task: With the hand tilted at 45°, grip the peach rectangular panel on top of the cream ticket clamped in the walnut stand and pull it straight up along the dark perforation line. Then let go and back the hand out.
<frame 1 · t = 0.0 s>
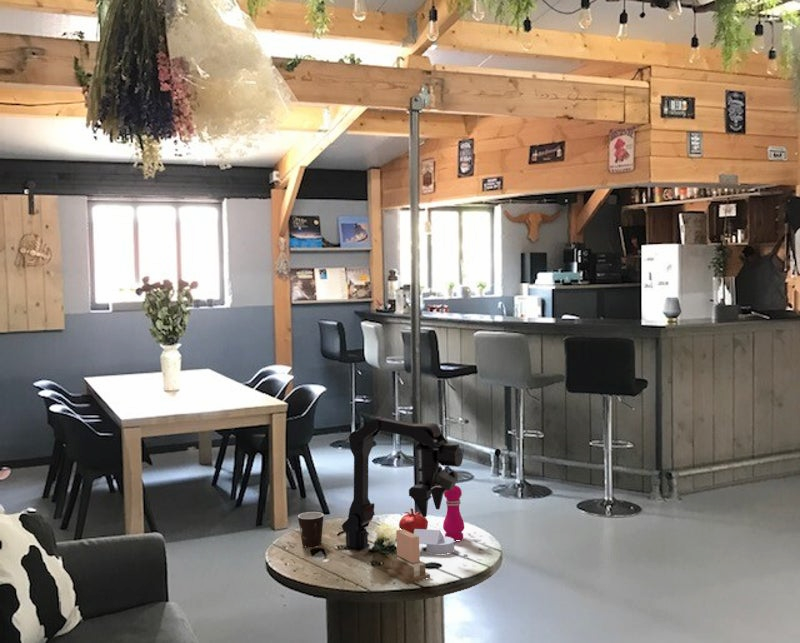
hand: (431, 513, 259), 15 cm above the table, tool pointing down, fingers open, 9 cm apart
peach rectangular panel: (407, 545, 244), point 9 cm above the table, slide at 0.0 cm
wedge on round base: (434, 550, 268), on the table
coffee mug: (310, 546, 276), on the table
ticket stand: (408, 575, 245), on the table
pepper mill: (454, 539, 279), on the table
pomegranate: (413, 535, 285), on the table
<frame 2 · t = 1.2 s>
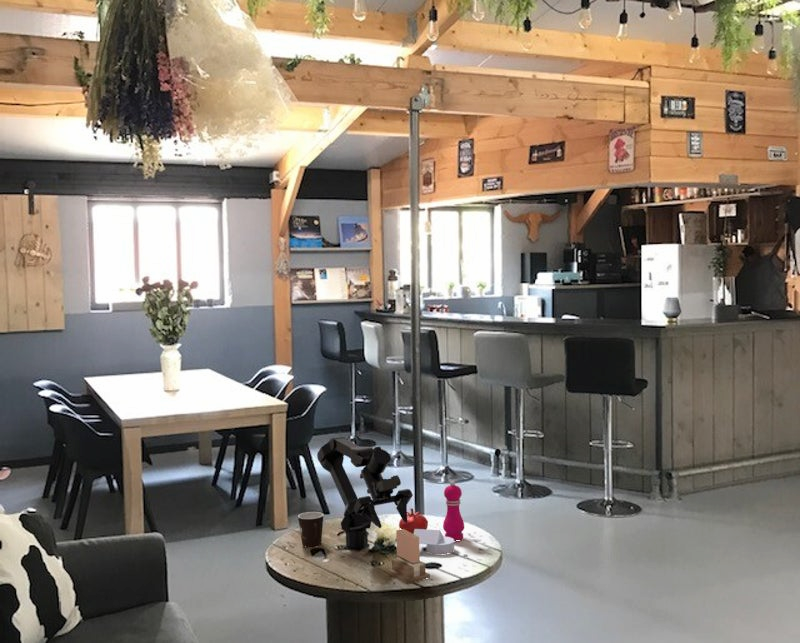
hand: (393, 524, 251), 14 cm above the table, tool tilted 45°, fingers open, 9 cm apart
nothing on the table moved.
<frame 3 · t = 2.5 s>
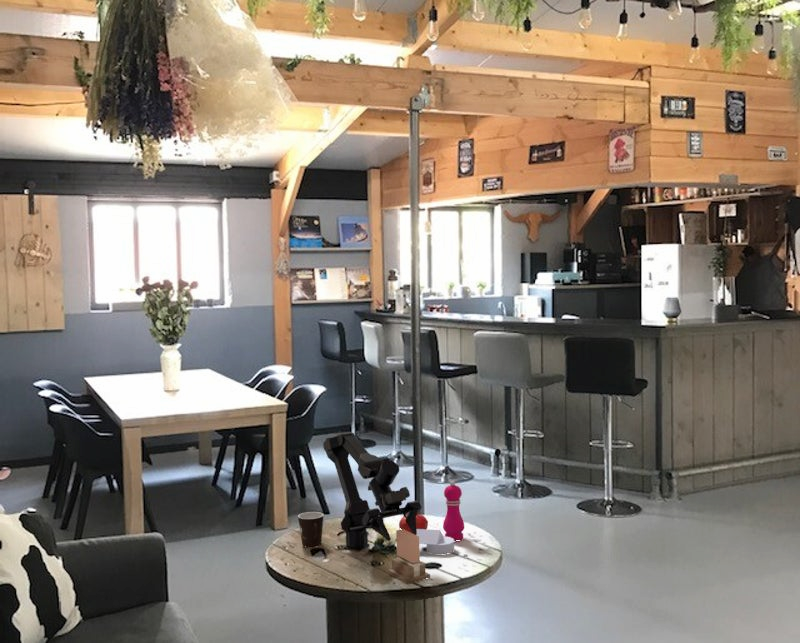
hand: (402, 537, 246), 11 cm above the table, tool tilted 45°, fingers open, 9 cm apart
nothing on the table moved.
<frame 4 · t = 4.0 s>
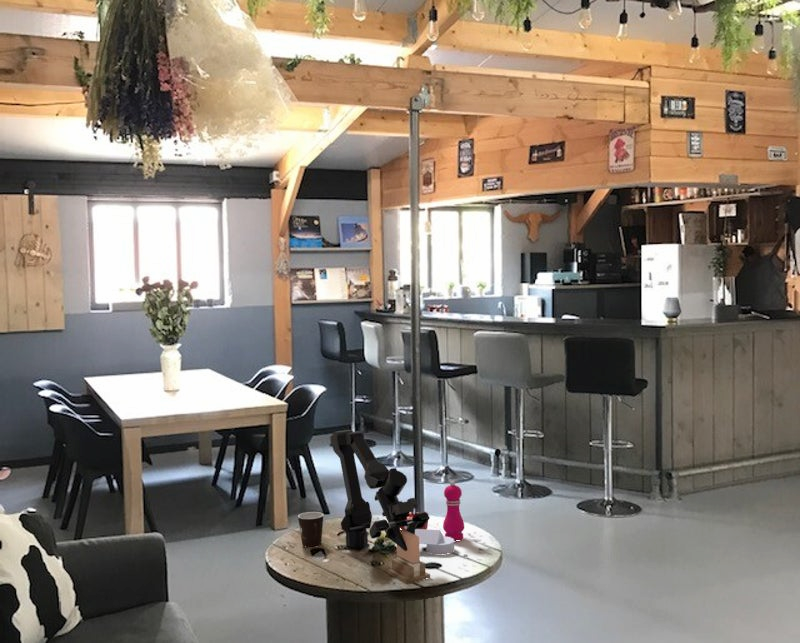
hand: (410, 549, 243), 8 cm above the table, tool tilted 45°, fingers closed on peach rectangular panel, 3 cm apart
peach rectangular panel: (407, 546, 244), point 9 cm above the table, slide at 0.0 cm, touching gripper
everything else where it was.
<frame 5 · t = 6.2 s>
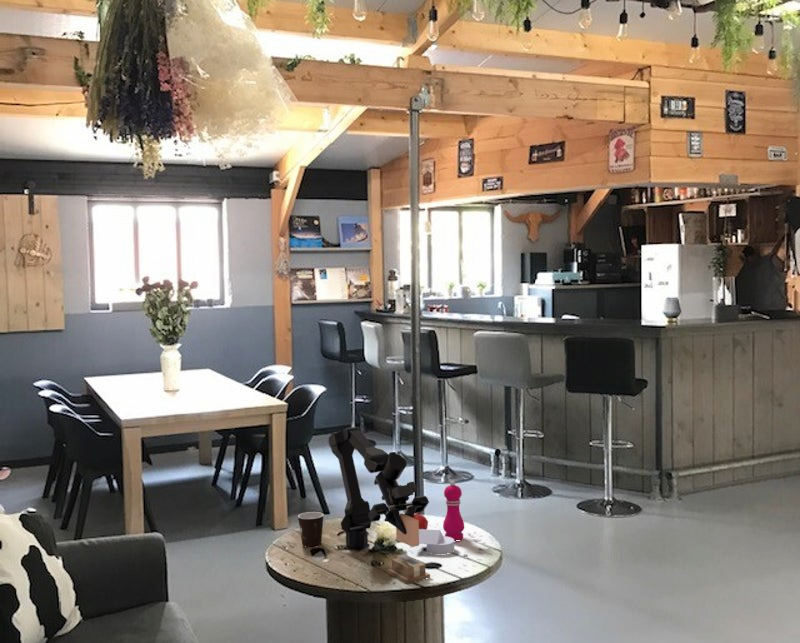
hand: (409, 532, 243), 13 cm above the table, tool tilted 45°, fingers closed on peach rectangular panel, 2 cm apart
peach rectangular panel: (407, 529, 244), point 14 cm above the table, slide at 4.9 cm, touching gripper
everything else where it was.
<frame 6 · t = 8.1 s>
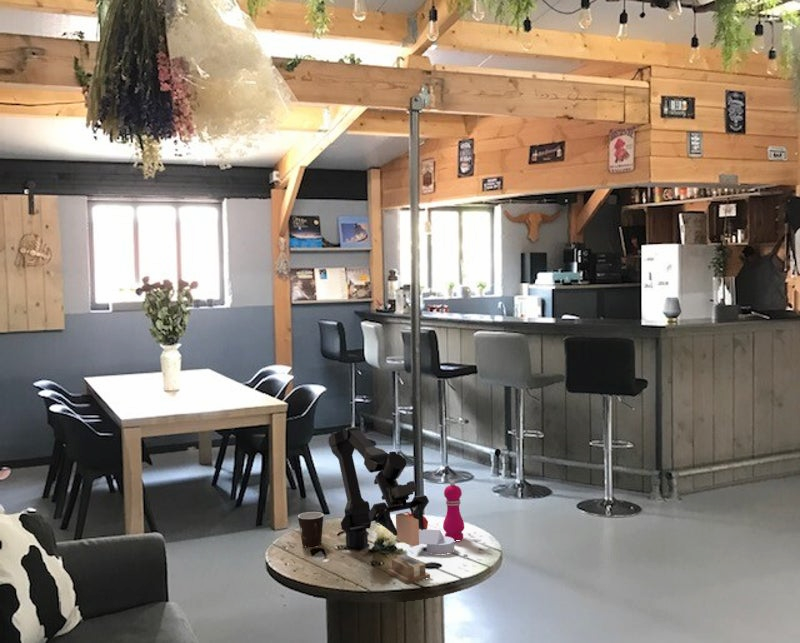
hand: (409, 532, 243), 14 cm above the table, tool tilted 45°, fingers open, 9 cm apart
peach rectangular panel: (407, 529, 244), point 14 cm above the table, slide at 5.0 cm
everything else where it was.
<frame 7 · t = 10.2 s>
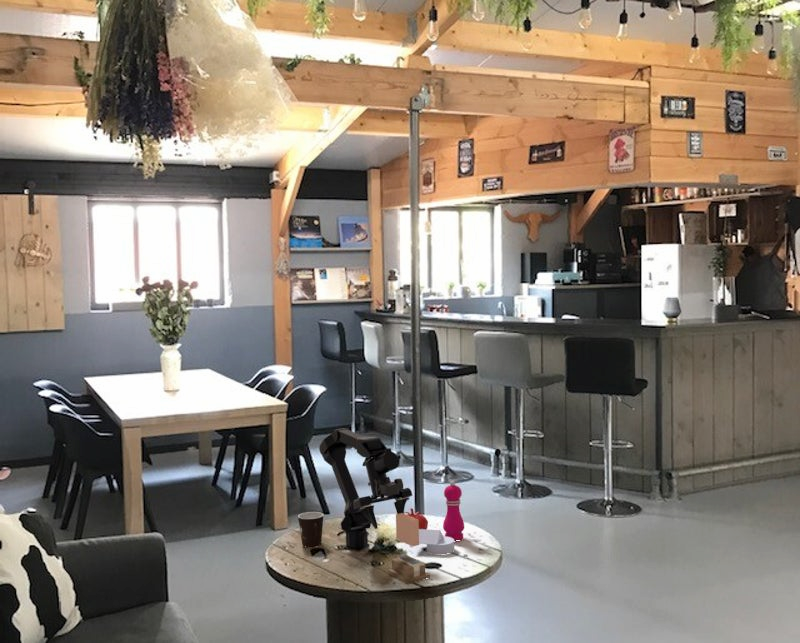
hand: (389, 525, 256), 12 cm above the table, tool tilted 20°, fingers open, 9 cm apart
nothing on the table moved.
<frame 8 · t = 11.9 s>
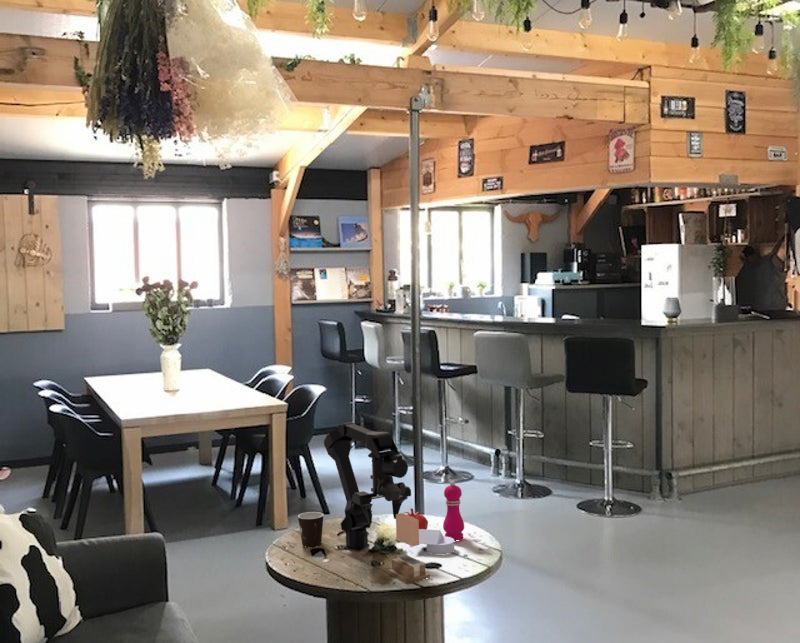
hand: (382, 521, 260), 12 cm above the table, tool pointing down, fingers open, 9 cm apart
nothing on the table moved.
at the end: peach rectangular panel slide at 5.0 cm; the gripper is holding nothing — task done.
